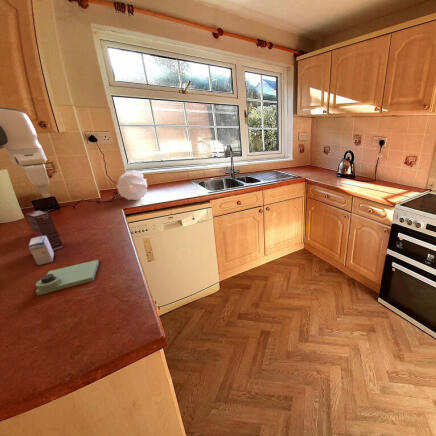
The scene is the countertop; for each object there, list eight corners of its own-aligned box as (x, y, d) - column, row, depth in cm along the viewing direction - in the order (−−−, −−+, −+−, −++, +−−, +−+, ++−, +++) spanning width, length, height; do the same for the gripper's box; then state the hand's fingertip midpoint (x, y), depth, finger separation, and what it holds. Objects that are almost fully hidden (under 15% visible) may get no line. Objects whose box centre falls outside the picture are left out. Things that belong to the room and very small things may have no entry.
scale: (36, 296, 74) (32, 288, 73) (50, 274, 85) (46, 267, 84) (93, 281, 81) (90, 273, 80) (99, 262, 92) (96, 255, 91)
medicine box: (39, 257, 97) (30, 238, 93) (54, 253, 99) (45, 234, 96) (37, 265, 91) (27, 245, 88) (53, 261, 94) (44, 241, 90)
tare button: (41, 285, 75) (39, 280, 75) (44, 280, 78) (42, 275, 77) (54, 282, 77) (51, 277, 76) (56, 277, 79) (54, 272, 78)
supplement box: (64, 246, 105) (49, 212, 99) (50, 252, 101) (34, 216, 95) (54, 243, 108) (39, 210, 102) (40, 248, 104) (23, 213, 98)
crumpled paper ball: (130, 207, 164) (131, 196, 184) (153, 193, 168) (152, 184, 188) (108, 186, 154) (111, 177, 173) (134, 171, 158) (134, 163, 177)
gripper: (13, 156, 90) (29, 192, 95) (18, 160, 78) (36, 201, 83) (36, 154, 95) (51, 188, 100) (44, 158, 82) (60, 197, 87)
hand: (44, 194), depth 91 cm, fingers open, 8 cm apart
